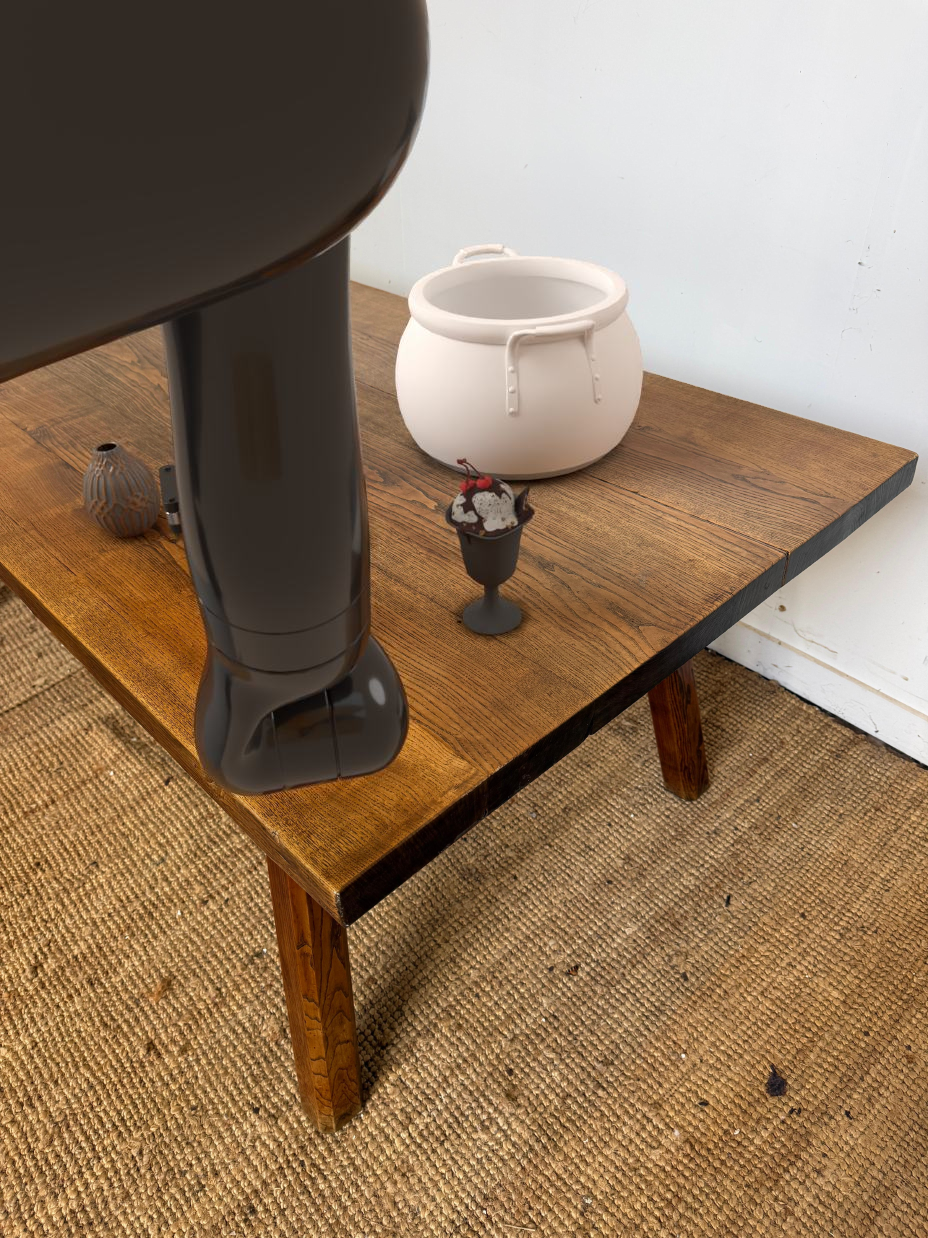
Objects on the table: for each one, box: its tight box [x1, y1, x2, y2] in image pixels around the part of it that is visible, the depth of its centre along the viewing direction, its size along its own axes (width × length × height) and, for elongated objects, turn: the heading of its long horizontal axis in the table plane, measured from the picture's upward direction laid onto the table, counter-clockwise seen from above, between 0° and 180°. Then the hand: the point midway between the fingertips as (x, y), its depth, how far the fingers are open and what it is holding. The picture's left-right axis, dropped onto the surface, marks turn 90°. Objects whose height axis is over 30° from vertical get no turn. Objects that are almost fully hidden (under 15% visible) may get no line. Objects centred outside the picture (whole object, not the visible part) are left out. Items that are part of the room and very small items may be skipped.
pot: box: [394, 243, 644, 481], centre depth 94 cm, size 29×26×17 cm
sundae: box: [444, 458, 536, 636], centre depth 69 cm, size 7×7×15 cm
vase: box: [81, 440, 162, 538], centre depth 85 cm, size 7×7×9 cm
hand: (255, 440), depth 70 cm, fingers open, 8 cm apart
